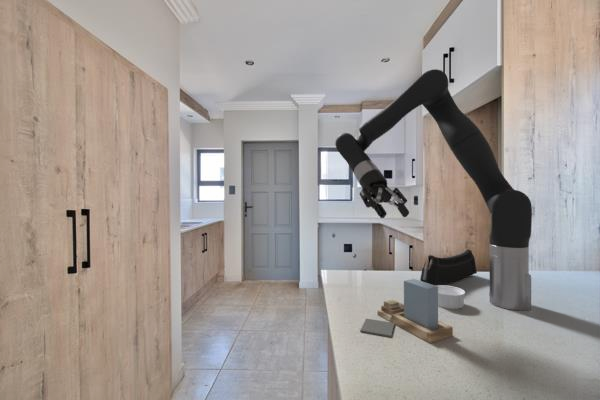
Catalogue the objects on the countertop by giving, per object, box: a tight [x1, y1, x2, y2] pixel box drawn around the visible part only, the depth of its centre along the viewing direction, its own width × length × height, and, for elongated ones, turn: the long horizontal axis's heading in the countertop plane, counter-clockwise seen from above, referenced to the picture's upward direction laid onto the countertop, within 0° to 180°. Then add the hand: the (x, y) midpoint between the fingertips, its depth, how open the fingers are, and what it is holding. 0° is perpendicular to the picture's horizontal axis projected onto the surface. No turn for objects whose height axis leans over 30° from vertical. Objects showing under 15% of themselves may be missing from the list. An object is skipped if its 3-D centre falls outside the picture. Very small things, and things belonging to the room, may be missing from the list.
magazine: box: [419, 249, 478, 286], centre depth 107 cm, size 17×3×30 cm
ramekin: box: [437, 284, 466, 310], centre depth 85 cm, size 9×9×4 cm
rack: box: [377, 299, 454, 344], centre depth 72 cm, size 17×7×4 cm, turn 26°
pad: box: [359, 318, 395, 338], centre depth 71 cm, size 7×7×1 cm
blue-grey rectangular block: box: [403, 278, 439, 331], centre depth 70 cm, size 7×4×11 cm, turn 26°
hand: (395, 215), depth 83 cm, fingers open, 8 cm apart
